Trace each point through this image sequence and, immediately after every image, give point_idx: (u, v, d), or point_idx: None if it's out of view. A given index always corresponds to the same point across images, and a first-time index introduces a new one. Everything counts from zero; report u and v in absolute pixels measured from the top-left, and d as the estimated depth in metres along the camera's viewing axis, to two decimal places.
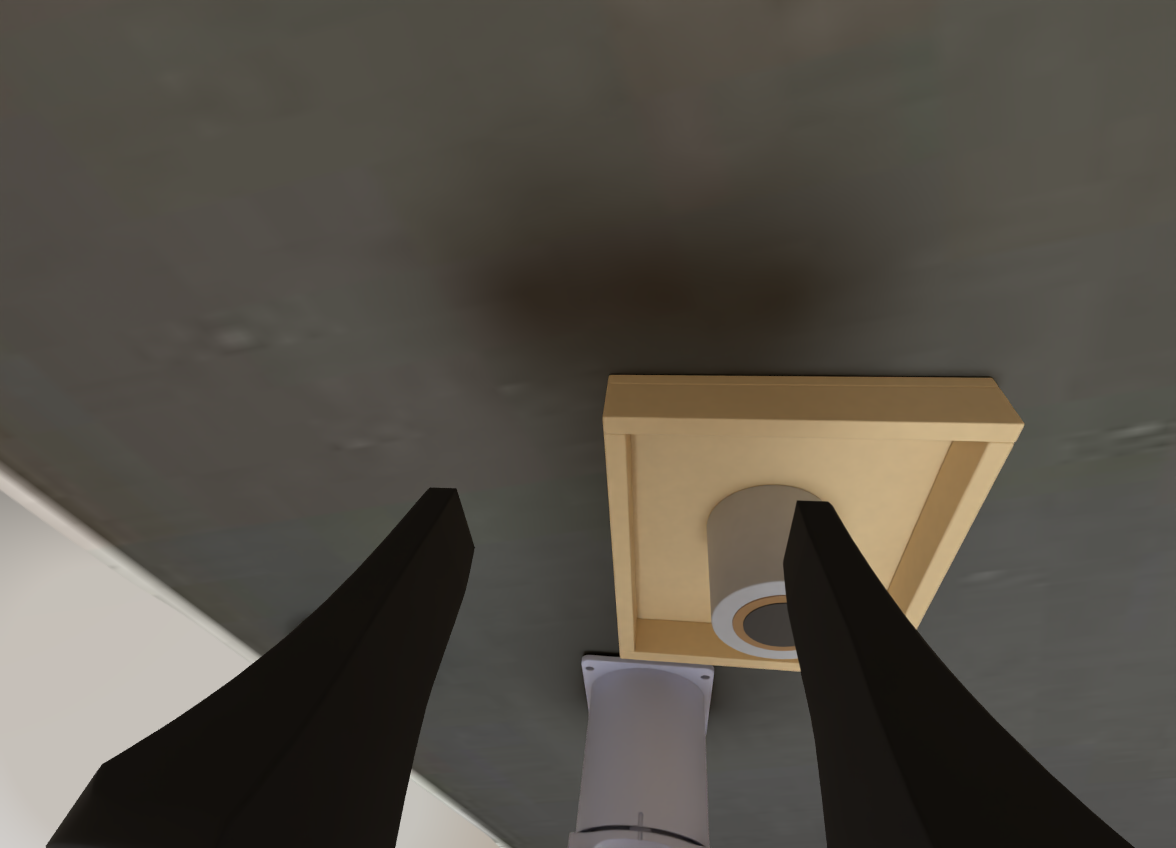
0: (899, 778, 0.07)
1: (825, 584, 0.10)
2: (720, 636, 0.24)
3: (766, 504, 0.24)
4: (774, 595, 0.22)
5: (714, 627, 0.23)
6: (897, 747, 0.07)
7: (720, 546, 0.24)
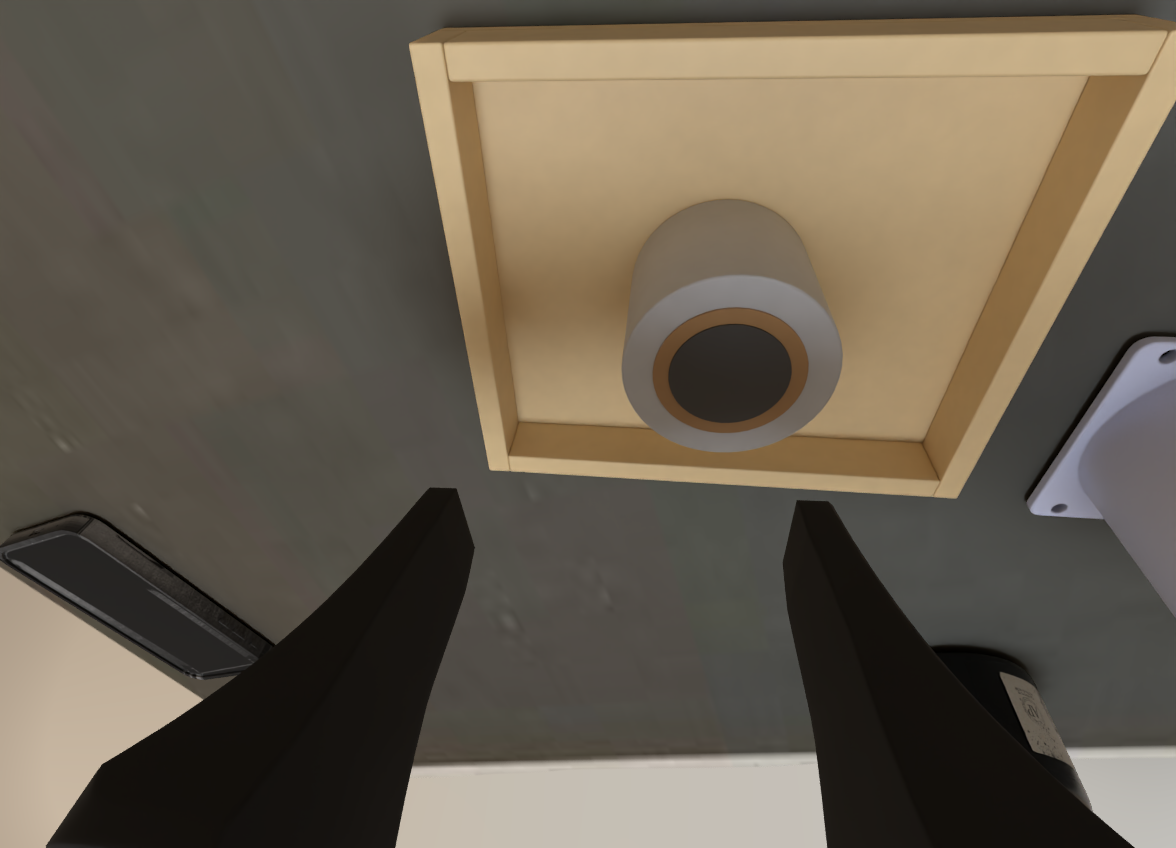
0: (899, 779, 0.07)
1: (825, 584, 0.10)
2: (762, 444, 0.16)
3: None
4: (656, 388, 0.15)
5: (738, 450, 0.16)
6: (897, 747, 0.07)
7: None
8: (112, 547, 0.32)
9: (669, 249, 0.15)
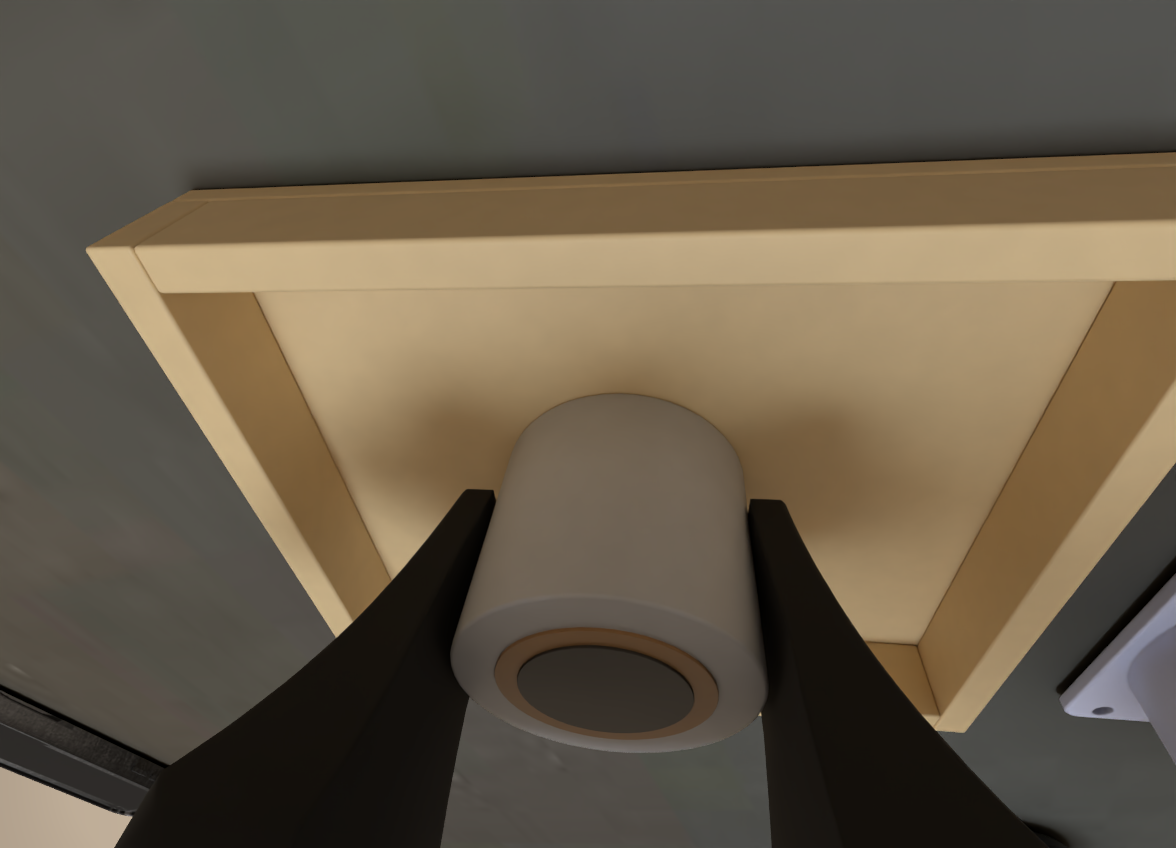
0: (818, 771, 0.07)
1: (769, 581, 0.10)
2: (673, 749, 0.11)
3: None
4: (509, 694, 0.11)
5: (640, 752, 0.12)
6: (820, 740, 0.07)
7: None
8: None
9: (523, 488, 0.11)
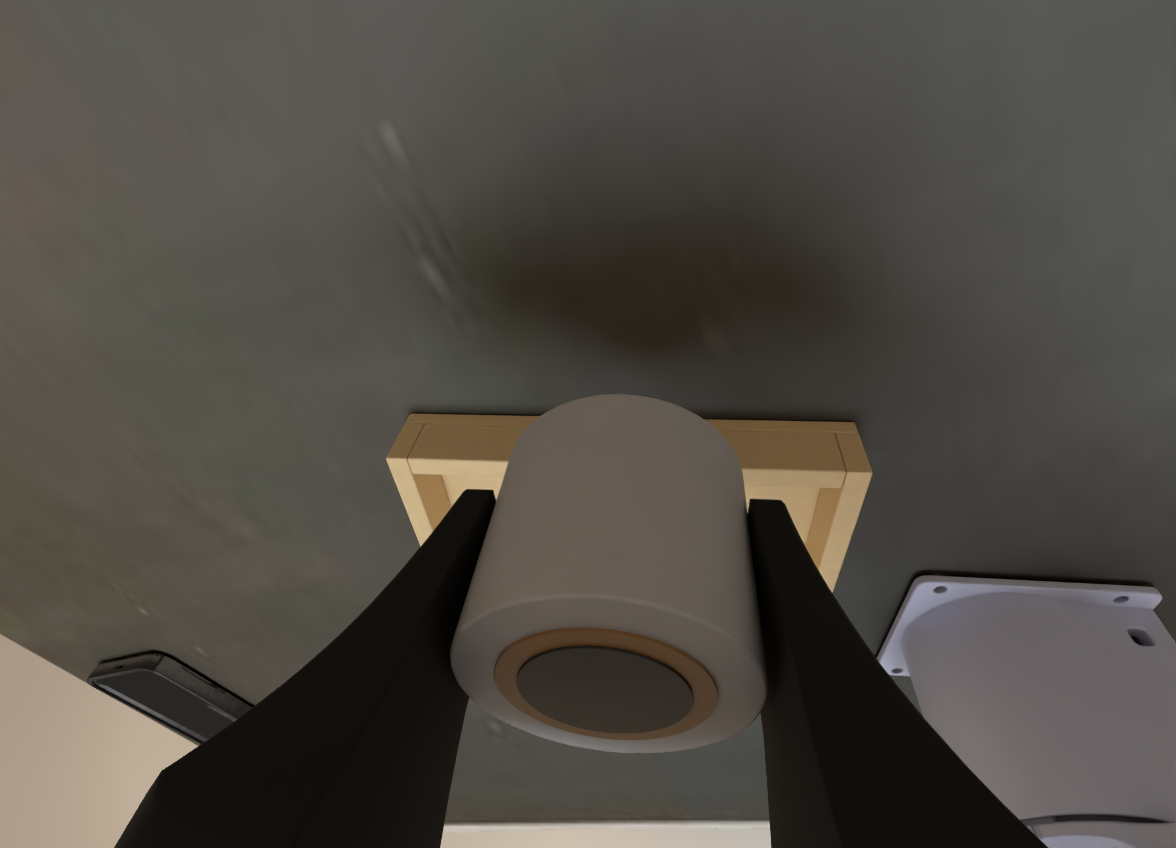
0: (819, 771, 0.07)
1: (769, 581, 0.10)
2: (672, 749, 0.11)
3: None
4: (508, 694, 0.11)
5: (640, 752, 0.12)
6: (819, 740, 0.07)
7: None
8: (179, 677, 0.40)
9: (523, 489, 0.11)
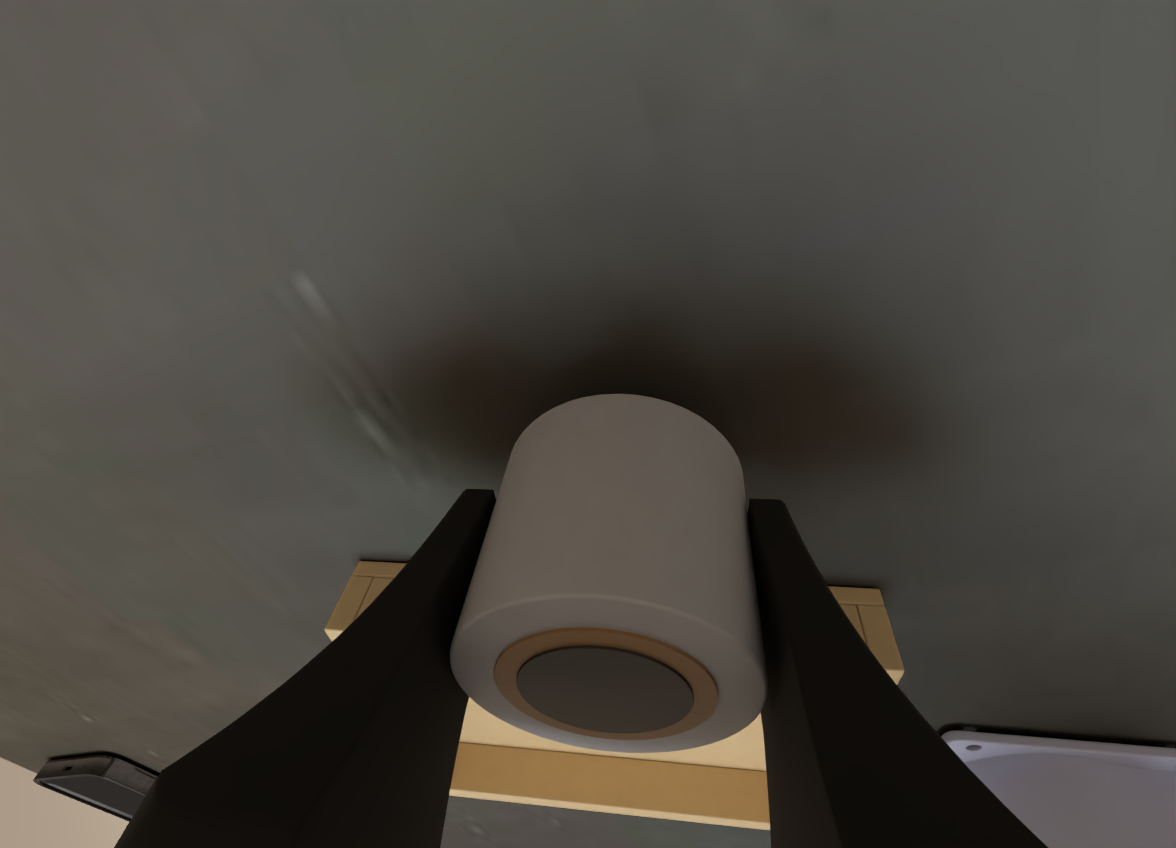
0: (817, 771, 0.07)
1: (769, 581, 0.10)
2: (672, 749, 0.11)
3: None
4: (508, 694, 0.11)
5: (640, 752, 0.12)
6: (820, 740, 0.07)
7: None
8: (131, 780, 0.37)
9: (523, 488, 0.11)
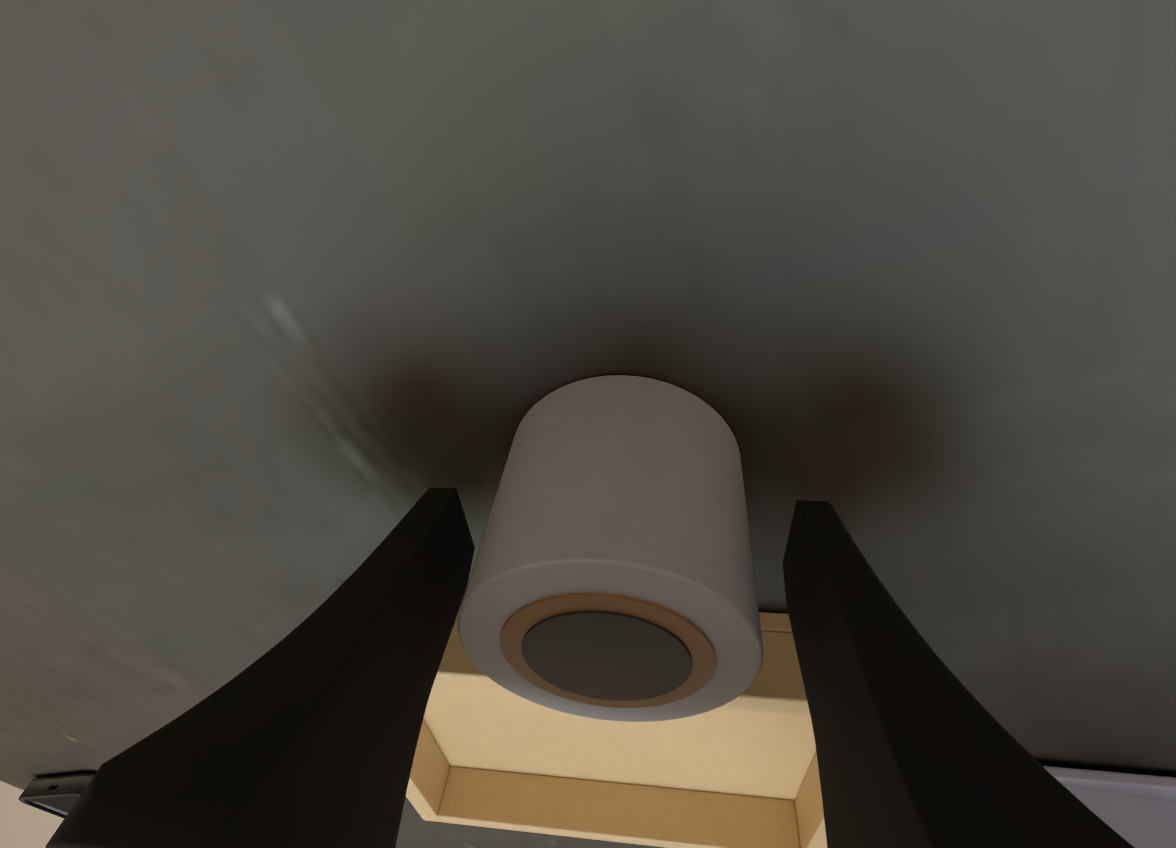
0: (899, 778, 0.07)
1: (825, 584, 0.10)
2: (672, 717, 0.12)
3: None
4: (513, 662, 0.11)
5: (640, 721, 0.12)
6: (897, 747, 0.07)
7: None
8: None
9: (528, 464, 0.11)
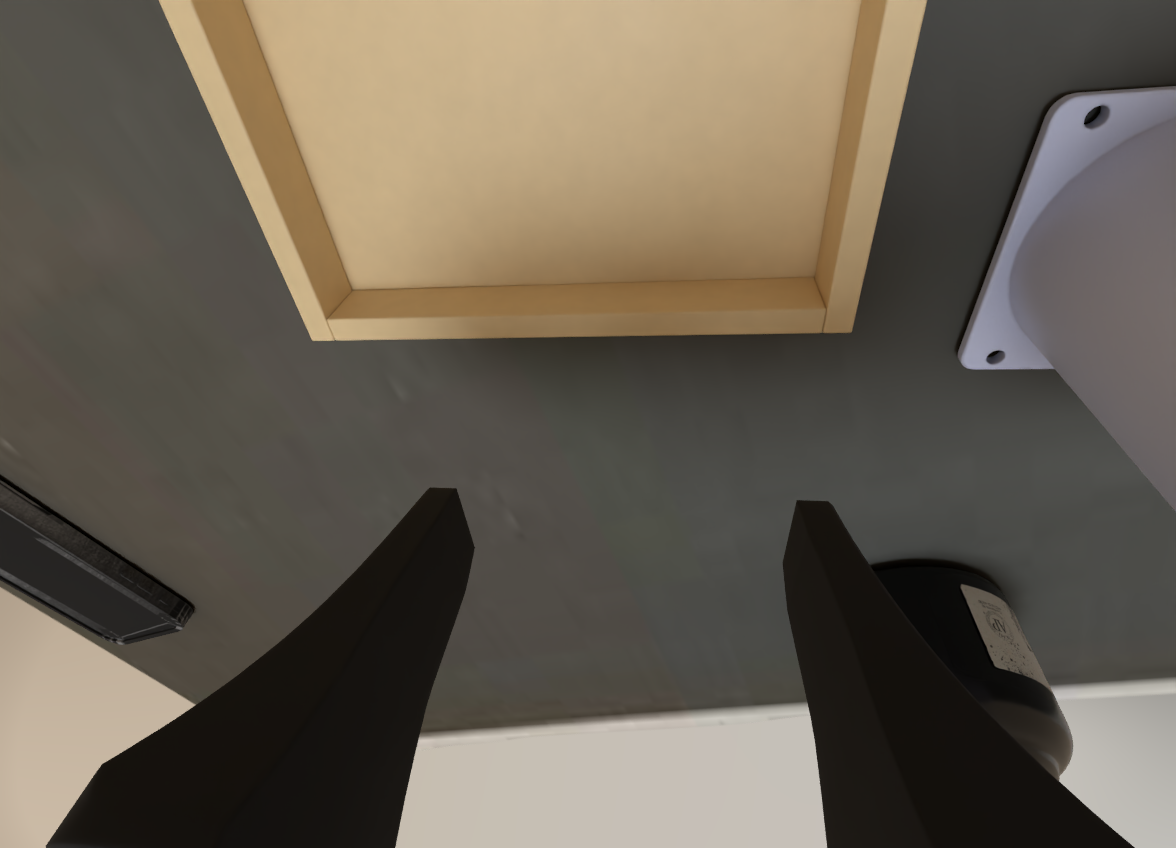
0: (899, 779, 0.07)
1: (825, 584, 0.10)
2: None
3: None
4: None
5: None
6: (897, 747, 0.07)
7: None
8: None
9: None
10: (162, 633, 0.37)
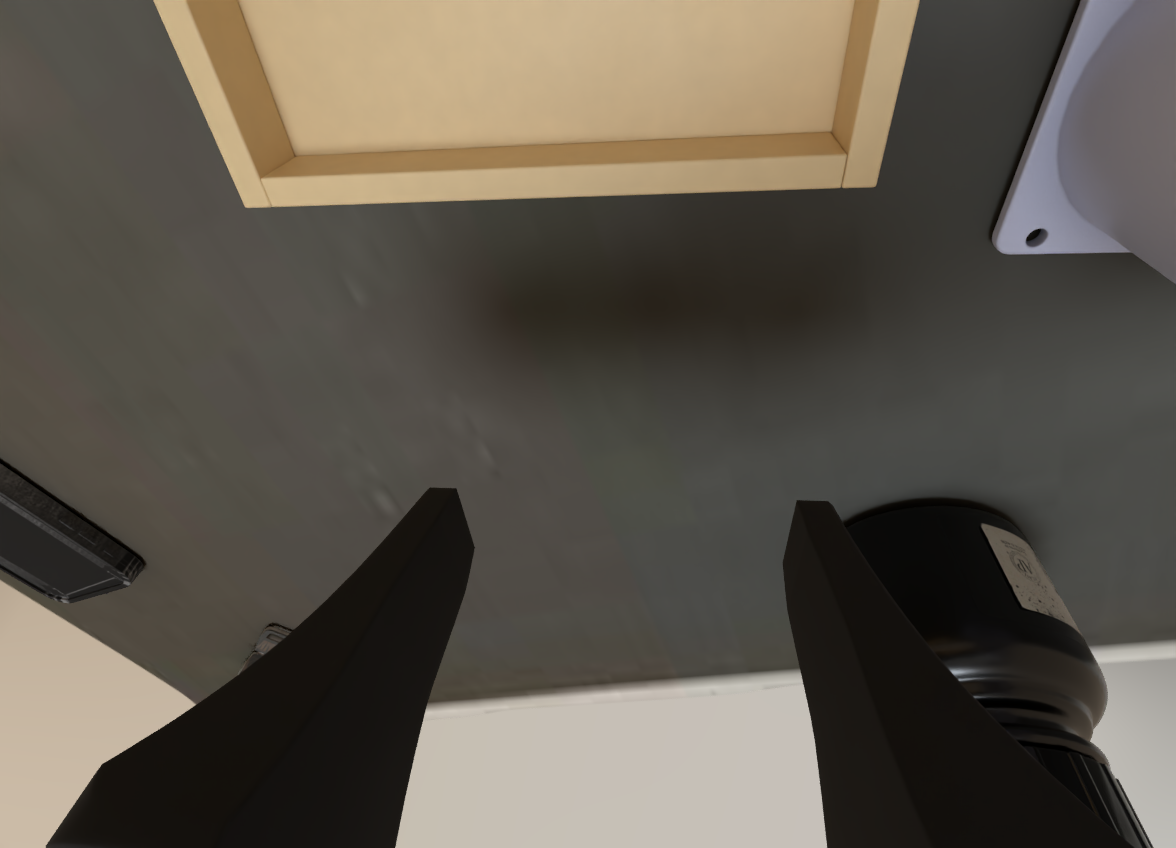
0: (899, 778, 0.07)
1: (825, 584, 0.10)
2: None
3: None
4: None
5: None
6: (897, 747, 0.07)
7: None
8: None
9: None
10: (109, 589, 0.34)
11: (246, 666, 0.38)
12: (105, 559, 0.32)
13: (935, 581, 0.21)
